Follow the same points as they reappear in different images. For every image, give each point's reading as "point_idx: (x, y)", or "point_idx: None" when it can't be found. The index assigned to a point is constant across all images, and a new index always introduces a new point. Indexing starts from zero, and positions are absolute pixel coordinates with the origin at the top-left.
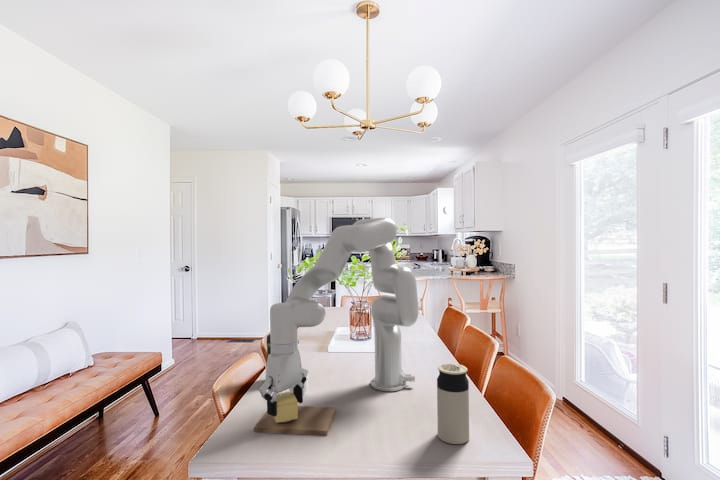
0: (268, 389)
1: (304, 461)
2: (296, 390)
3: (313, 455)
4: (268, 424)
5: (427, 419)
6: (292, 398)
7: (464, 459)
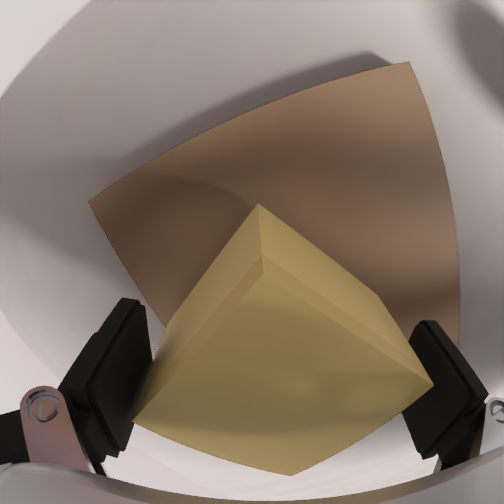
0: (51, 472)
1: (131, 440)
2: (439, 419)
3: (163, 448)
4: (163, 253)
5: (411, 478)
6: (310, 452)
7: None
